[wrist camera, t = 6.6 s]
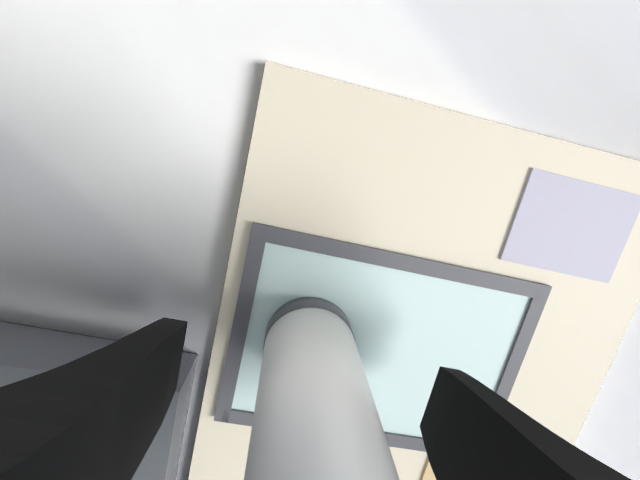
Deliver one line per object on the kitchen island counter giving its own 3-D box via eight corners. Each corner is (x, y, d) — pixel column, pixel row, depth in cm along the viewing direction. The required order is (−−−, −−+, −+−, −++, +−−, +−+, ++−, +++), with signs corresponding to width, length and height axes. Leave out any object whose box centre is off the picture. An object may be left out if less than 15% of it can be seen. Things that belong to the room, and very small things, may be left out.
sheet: (517, 546, 15) (526, 561, 15) (184, 507, 14) (179, 523, 13) (683, 175, 12) (703, 176, 11) (266, 64, 10) (265, 59, 10)
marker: (341, 381, 12) (420, 763, 5) (257, 368, 12) (190, 757, 4) (361, 304, 12) (492, 595, 4) (273, 288, 11) (230, 573, 4)
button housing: (169, 516, 14) (148, 575, 12) (-31, 493, 13) (-88, 553, 11) (197, 354, 12) (179, 391, 10) (-26, 317, 12) (-90, 350, 10)
